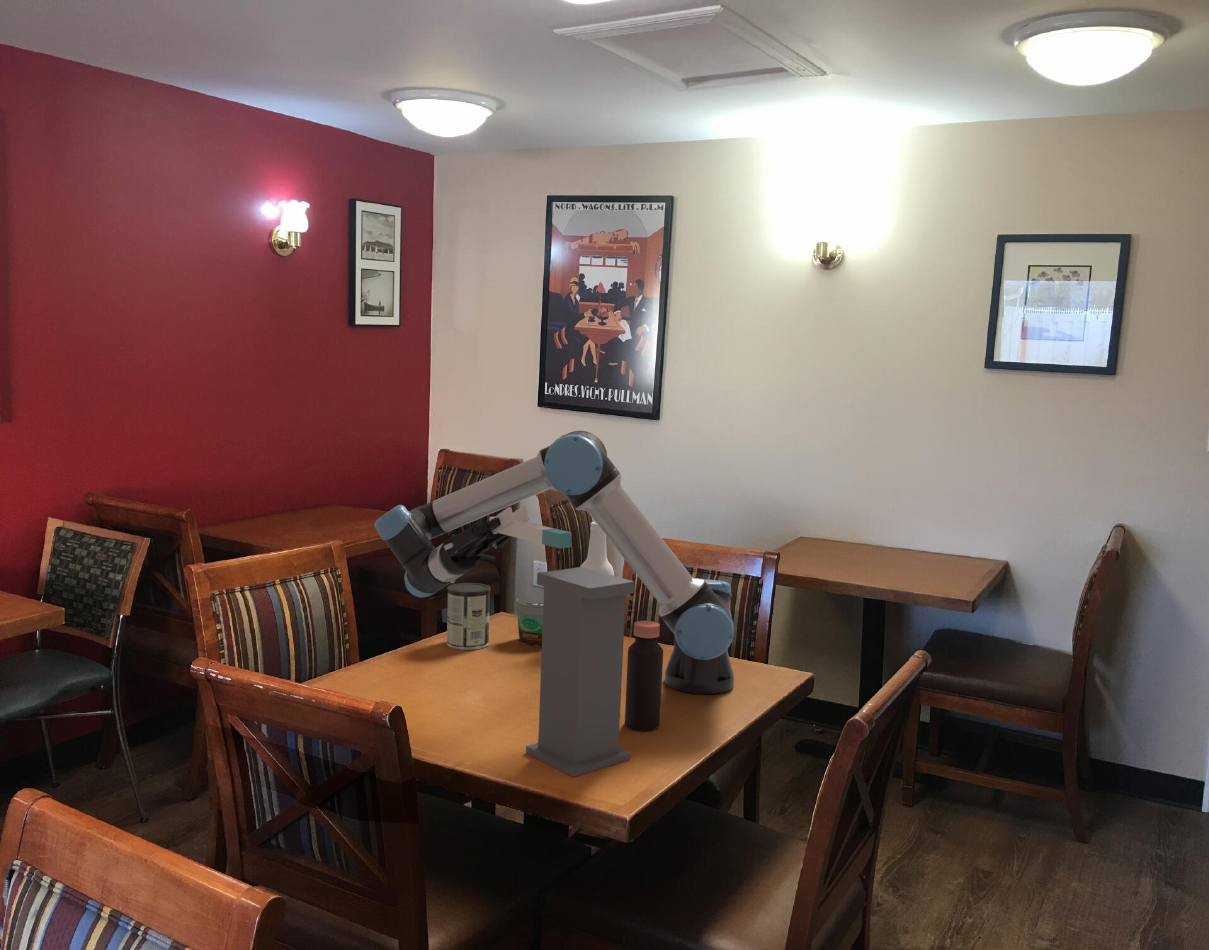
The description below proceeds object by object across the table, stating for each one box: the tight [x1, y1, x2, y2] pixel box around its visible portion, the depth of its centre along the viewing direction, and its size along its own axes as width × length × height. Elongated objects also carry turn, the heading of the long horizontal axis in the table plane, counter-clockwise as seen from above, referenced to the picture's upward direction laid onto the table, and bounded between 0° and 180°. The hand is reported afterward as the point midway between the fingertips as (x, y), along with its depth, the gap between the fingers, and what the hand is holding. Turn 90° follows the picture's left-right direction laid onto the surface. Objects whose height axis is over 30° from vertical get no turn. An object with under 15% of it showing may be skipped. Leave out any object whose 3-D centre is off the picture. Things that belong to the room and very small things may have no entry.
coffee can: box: [446, 582, 491, 651], centre depth 242 cm, size 10×10×14 cm
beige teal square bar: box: [488, 516, 573, 549], centre depth 184 cm, size 21×3×3 cm, turn 42°
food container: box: [514, 598, 544, 646], centre depth 245 cm, size 12×6×10 cm, turn 80°
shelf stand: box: [525, 566, 635, 778], centre depth 175 cm, size 14×13×32 cm
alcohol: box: [580, 521, 615, 576], centre depth 247 cm, size 9×9×30 cm
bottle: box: [624, 620, 664, 732], centre depth 192 cm, size 7×7×20 cm
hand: (518, 513), depth 186 cm, fingers closed on beige teal square bar, 3 cm apart
